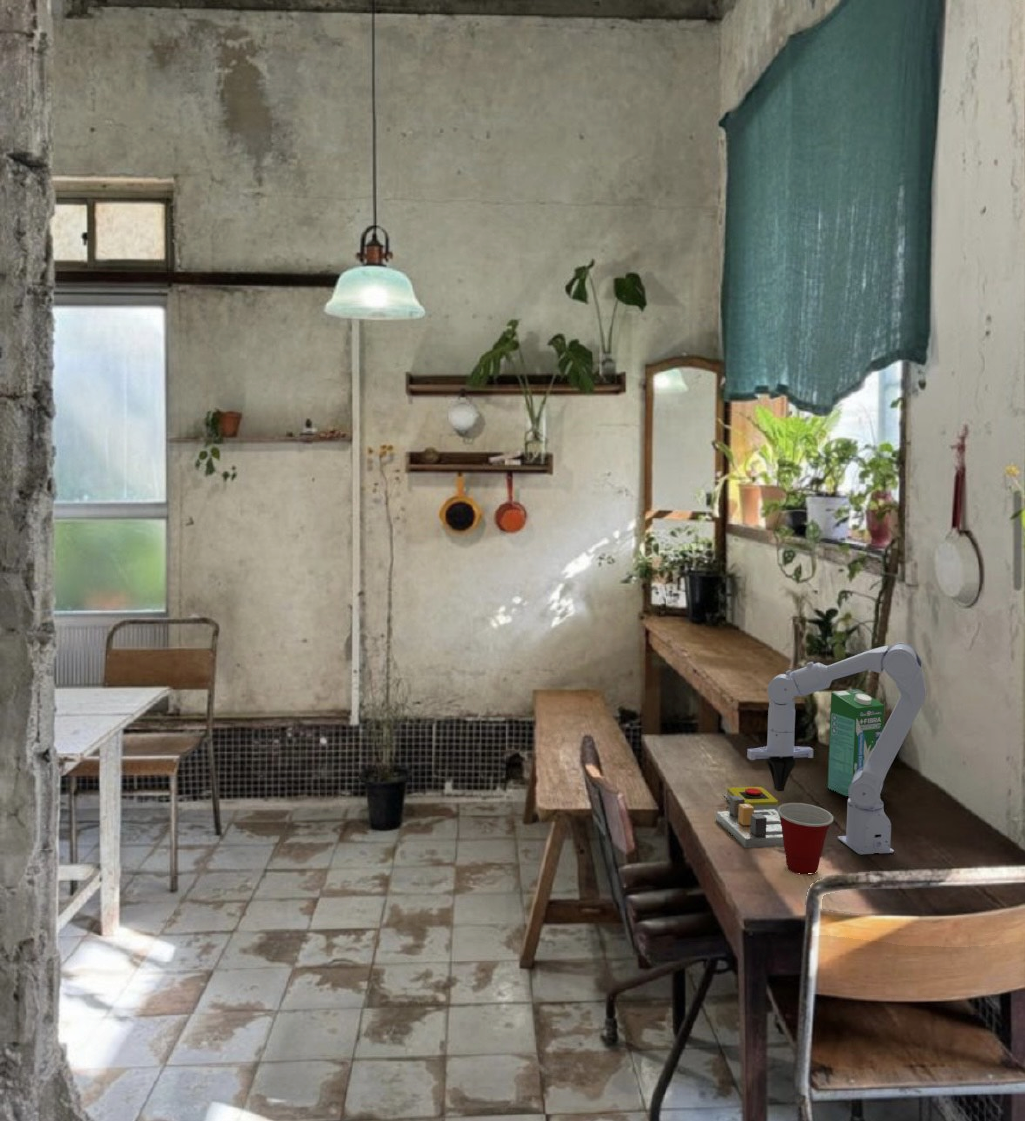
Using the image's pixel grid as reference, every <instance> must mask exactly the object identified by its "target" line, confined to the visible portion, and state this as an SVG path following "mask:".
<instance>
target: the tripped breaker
mask: <svg viewBox="0 0 1025 1121" xmlns="http://www.w3.org/2000/svg"><path fill="white" fill-rule="evenodd" d="M751 814H754V807H752V806H751V805H750V804H739V812H738V821H739V822H740V823H741V824H742V825H750V821H751Z"/></svg>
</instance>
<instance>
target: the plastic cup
mask: <svg viewBox="0 0 1025 1121" xmlns="http://www.w3.org/2000/svg"><path fill="white" fill-rule="evenodd" d="M777 811H778V814H779V816H780V821H781V826H782V834H783V843H784V846H783V849H784V850H783V851H784V853H785V860H786V861H785V862H786V866H787V869H788V870H789V871H790V872H791V871H792V873H793V872H794V873H793V874H796V873H800V874H799V875H801V874H808V873H815V872H816V871H818V870H819V866H820V861H821V857H822V853H823V849H824V845H825V840H826V836H827V833H828V831H829V828H830V825H832V823H833V822H834V815H833V814H831V812H829V811H828V810H826V809H824V808H822V807H820V806H816V805H813V804H808V803H803V802H789V803H788V802H787V803H782V804H781V805H778V810H777ZM816 873H817V872H816ZM816 873H815V874H816Z"/></svg>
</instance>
